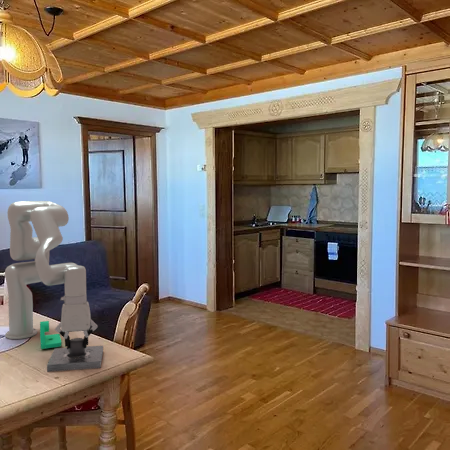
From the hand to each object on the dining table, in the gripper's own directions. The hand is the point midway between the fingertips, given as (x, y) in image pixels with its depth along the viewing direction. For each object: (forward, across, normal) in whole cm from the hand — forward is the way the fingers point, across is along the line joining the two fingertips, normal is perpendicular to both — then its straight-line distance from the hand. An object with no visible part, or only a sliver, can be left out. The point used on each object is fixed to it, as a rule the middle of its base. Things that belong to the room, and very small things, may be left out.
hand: (76, 347), depth 164 cm
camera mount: (+6, -13, +20) cm, 24 cm away
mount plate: (+5, 0, 0) cm, 5 cm away
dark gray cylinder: (+3, 0, +1) cm, 3 cm away
